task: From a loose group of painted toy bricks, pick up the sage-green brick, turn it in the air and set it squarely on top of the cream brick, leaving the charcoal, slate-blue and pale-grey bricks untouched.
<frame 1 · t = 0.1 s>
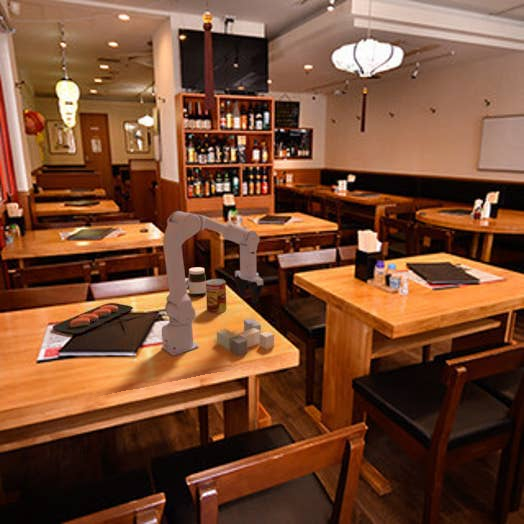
hand: (249, 299, 149), 10 cm above the table, tool pointing down, fingers open, 7 cm apart
sage green brick: (227, 345, 136), on the table
cream brick: (249, 344, 137), on the table
pale grey cube brick: (266, 346, 135), on the table
charcoal cube brick: (239, 352, 131), on the table
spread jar: (193, 294, 188), on the table
slate blue brick: (252, 333, 145), on the table
sushi plate: (110, 324, 156), on the table
canned food: (216, 310, 168), on the table
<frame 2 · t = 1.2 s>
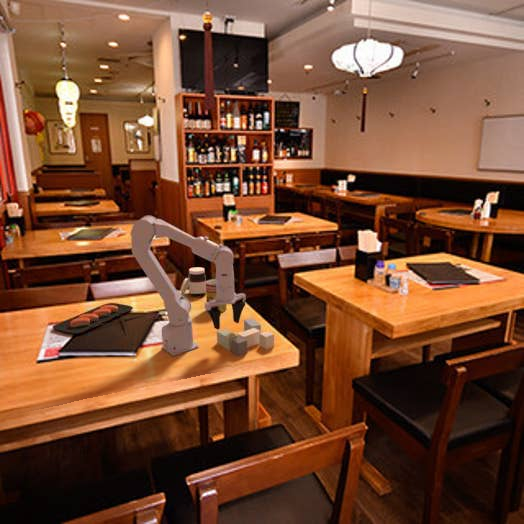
hand: (226, 325, 134), 7 cm above the table, tool pointing down, fingers open, 7 cm apart
nothing on the table moved.
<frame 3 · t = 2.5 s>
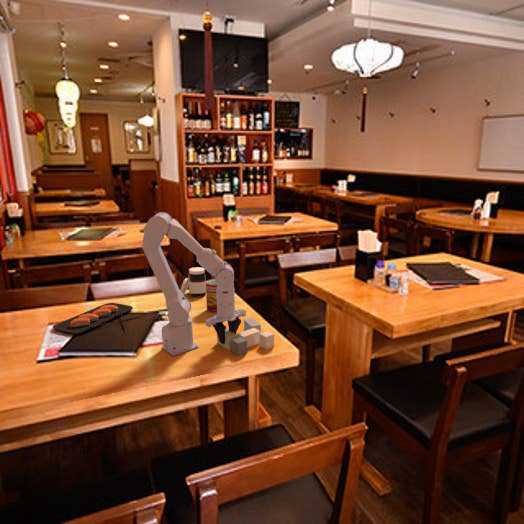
hand: (227, 341, 136), 1 cm above the table, tool pointing down, fingers closed on sage green brick, 3 cm apart
sage green brick: (227, 345, 136), on the table, touching gripper
everything else where it was.
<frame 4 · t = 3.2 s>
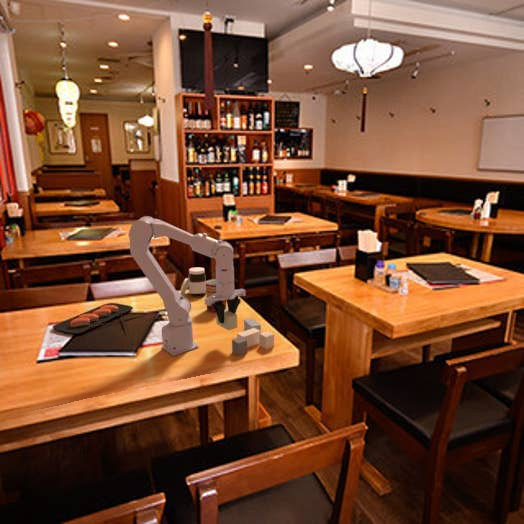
hand: (226, 320, 134), 9 cm above the table, tool pointing down, fingers closed on sage green brick, 3 cm apart
sage green brick: (226, 325, 134), point 7 cm above the table, touching gripper
everything else where it was.
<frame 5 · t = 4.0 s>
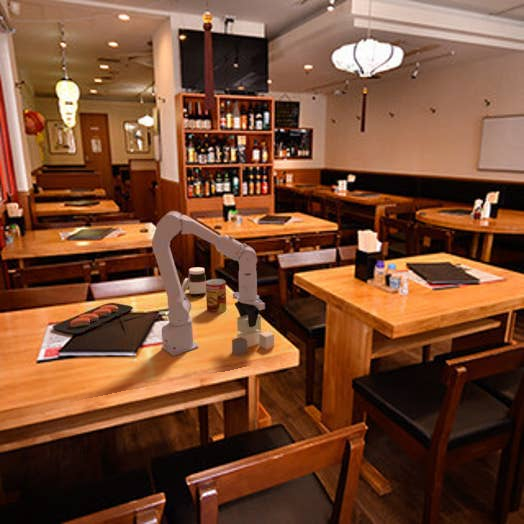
hand: (248, 324, 135), 7 cm above the table, tool pointing down, fingers closed on sage green brick, 3 cm apart
sage green brick: (249, 329, 136), point 5 cm above the table, touching gripper
everything else where it was.
when the fingers open (7 cm above the table, at t = 4.3 s): sage green brick stays where it is, resting on cream brick.
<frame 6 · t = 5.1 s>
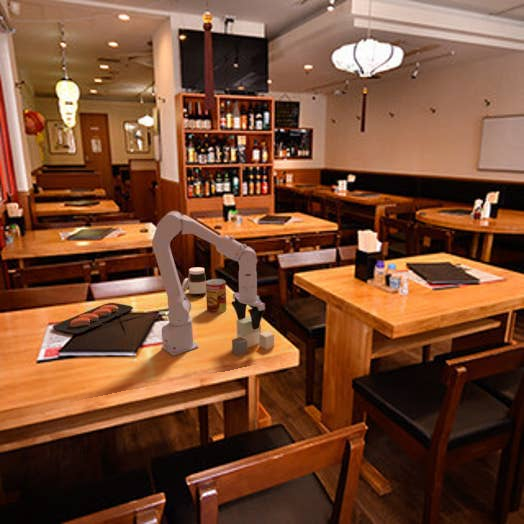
hand: (248, 324, 135), 7 cm above the table, tool pointing down, fingers open, 7 cm apart
sage green brick: (248, 331, 136), point 4 cm above the table, touching cream brick
cream brick: (248, 344, 137), on the table, touching sage green brick
everything else where it was.
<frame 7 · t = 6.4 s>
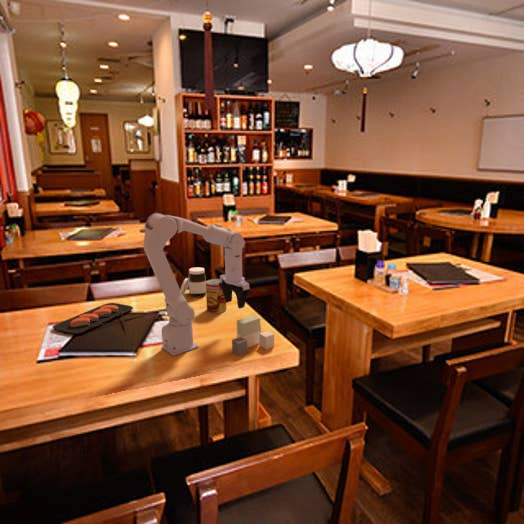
hand: (234, 304, 143), 10 cm above the table, tool pointing down, fingers open, 7 cm apart
nothing on the table moved.
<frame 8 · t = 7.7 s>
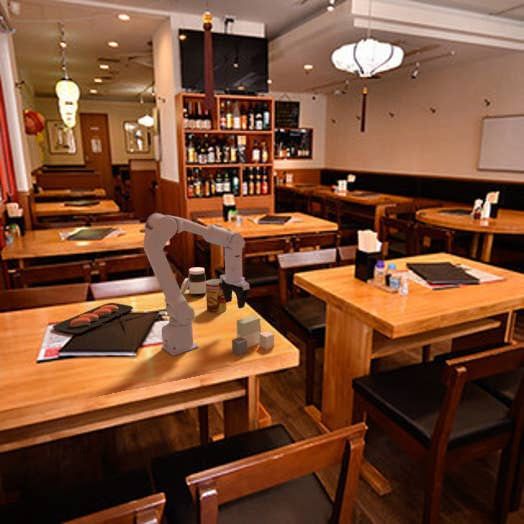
hand: (234, 304, 143), 10 cm above the table, tool pointing down, fingers open, 7 cm apart
nothing on the table moved.
at the end: sage green brick 0.0 cm off-centre on the cream brick, point 4.4 cm above the cream brick's base; charcoal cube brick moved 0.1 cm from its start; slate blue brick moved 0.2 cm from its start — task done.
